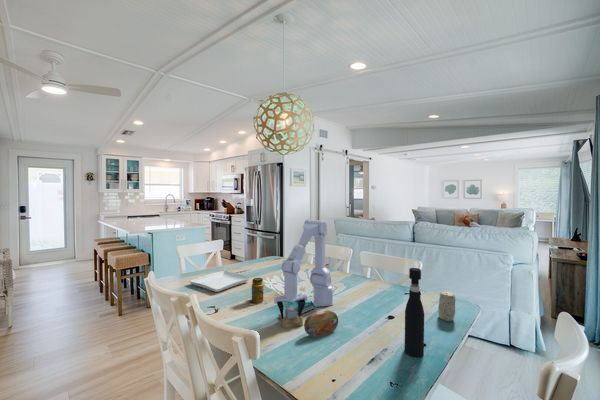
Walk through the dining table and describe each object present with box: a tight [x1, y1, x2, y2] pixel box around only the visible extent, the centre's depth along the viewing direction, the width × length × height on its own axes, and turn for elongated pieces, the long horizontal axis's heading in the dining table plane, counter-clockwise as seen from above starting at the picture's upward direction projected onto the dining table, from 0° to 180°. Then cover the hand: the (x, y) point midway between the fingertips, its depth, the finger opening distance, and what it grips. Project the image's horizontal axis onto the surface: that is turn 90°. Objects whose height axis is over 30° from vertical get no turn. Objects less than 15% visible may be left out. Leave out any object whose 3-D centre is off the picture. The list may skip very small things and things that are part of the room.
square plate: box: [188, 270, 252, 293], centre depth 176 cm, size 27×27×4 cm
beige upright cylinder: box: [437, 290, 456, 322], centre depth 128 cm, size 6×8×12 cm
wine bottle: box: [404, 267, 425, 359], centre depth 101 cm, size 6×6×30 cm
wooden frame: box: [277, 312, 304, 329], centre depth 125 cm, size 9×11×4 cm
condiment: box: [245, 277, 267, 306], centre depth 147 cm, size 7×8×12 cm
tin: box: [303, 310, 339, 338], centre depth 115 cm, size 15×3×8 cm, turn 117°
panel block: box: [284, 304, 298, 319], centre depth 125 cm, size 4×7×6 cm, turn 14°
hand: (290, 317), depth 125 cm, fingers open, 7 cm apart
